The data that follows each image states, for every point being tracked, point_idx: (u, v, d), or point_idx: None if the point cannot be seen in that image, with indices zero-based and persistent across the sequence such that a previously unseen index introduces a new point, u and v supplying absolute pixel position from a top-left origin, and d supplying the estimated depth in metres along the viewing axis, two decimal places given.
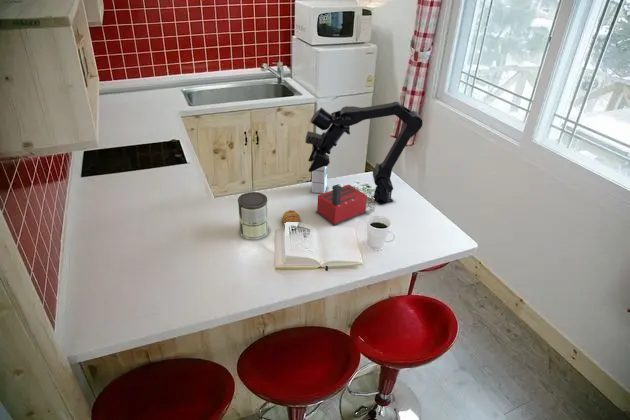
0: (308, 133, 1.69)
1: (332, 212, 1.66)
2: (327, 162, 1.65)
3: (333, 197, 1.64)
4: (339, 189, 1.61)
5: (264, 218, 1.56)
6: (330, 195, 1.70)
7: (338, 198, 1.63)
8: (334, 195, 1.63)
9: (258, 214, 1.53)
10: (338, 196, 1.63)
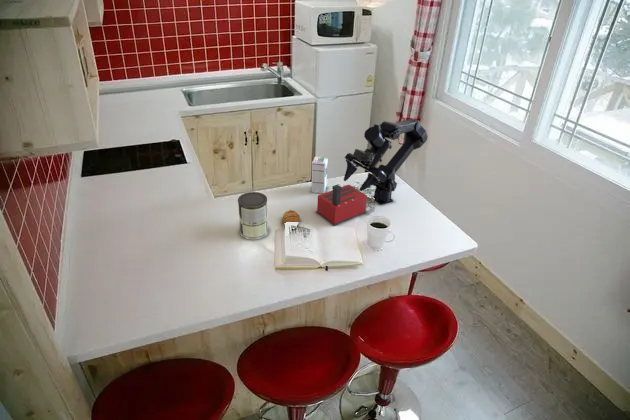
0: (359, 150, 1.60)
1: (332, 212, 1.66)
2: (385, 178, 1.62)
3: (333, 197, 1.64)
4: (339, 189, 1.61)
5: (264, 218, 1.56)
6: (330, 195, 1.70)
7: (338, 198, 1.63)
8: (334, 195, 1.63)
9: (258, 214, 1.53)
10: (338, 196, 1.63)
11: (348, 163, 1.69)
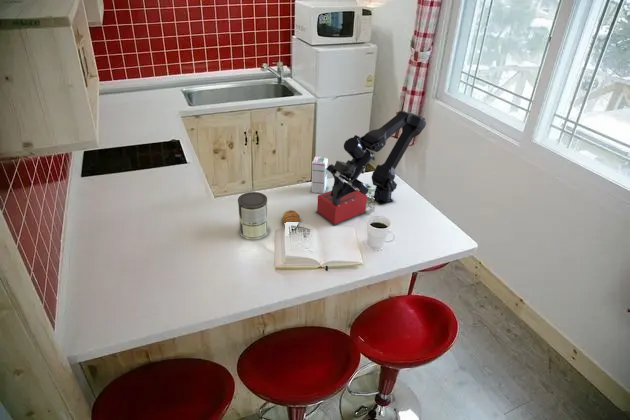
0: (340, 162, 1.57)
1: (332, 212, 1.66)
2: (367, 190, 1.58)
3: (333, 197, 1.64)
4: (339, 189, 1.61)
5: (264, 218, 1.56)
6: (330, 195, 1.70)
7: None
8: (334, 195, 1.63)
9: (258, 214, 1.53)
10: None
11: (335, 178, 1.63)
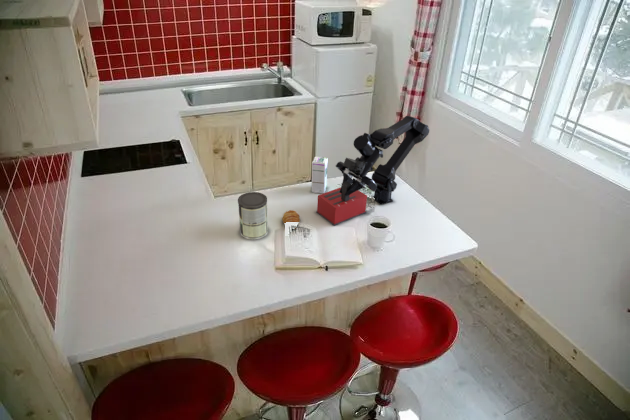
0: (349, 159, 1.59)
1: (332, 212, 1.66)
2: (376, 187, 1.61)
3: (342, 194, 1.66)
4: (348, 186, 1.63)
5: (264, 218, 1.56)
6: (330, 195, 1.70)
7: None
8: (343, 192, 1.65)
9: (258, 214, 1.53)
10: None
11: (344, 175, 1.65)
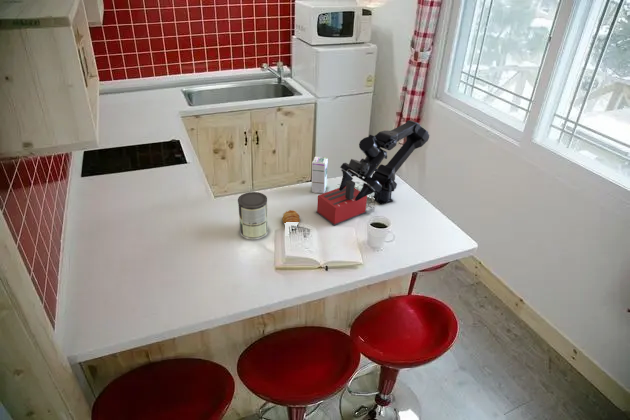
0: (354, 161, 1.61)
1: (332, 212, 1.66)
2: (380, 188, 1.63)
3: (346, 192, 1.67)
4: (352, 184, 1.64)
5: (264, 218, 1.56)
6: (330, 195, 1.70)
7: (351, 193, 1.66)
8: (347, 190, 1.66)
9: (258, 214, 1.53)
10: (351, 191, 1.66)
11: (344, 173, 1.69)
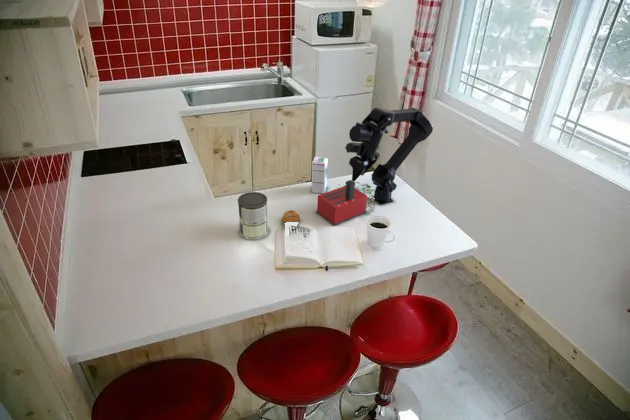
0: None
1: (332, 212, 1.66)
2: (362, 165, 1.60)
3: (346, 192, 1.67)
4: (352, 184, 1.64)
5: (264, 218, 1.56)
6: (330, 195, 1.70)
7: (351, 193, 1.66)
8: (347, 190, 1.66)
9: (258, 214, 1.53)
10: (351, 191, 1.66)
11: None
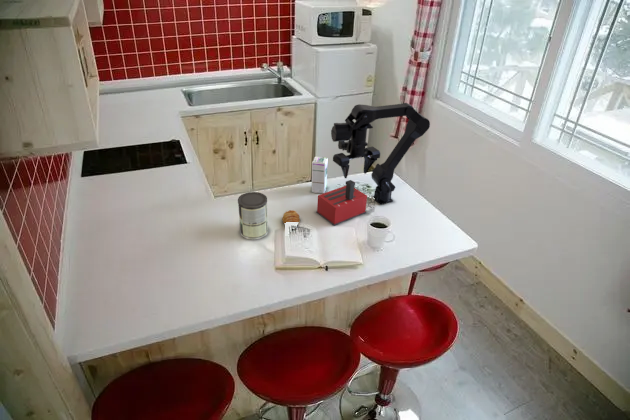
0: None
1: (332, 212, 1.66)
2: (339, 161, 1.64)
3: (346, 192, 1.67)
4: (352, 184, 1.64)
5: (264, 218, 1.56)
6: (330, 195, 1.70)
7: (351, 193, 1.66)
8: (347, 190, 1.66)
9: (258, 214, 1.53)
10: (351, 191, 1.66)
11: None
